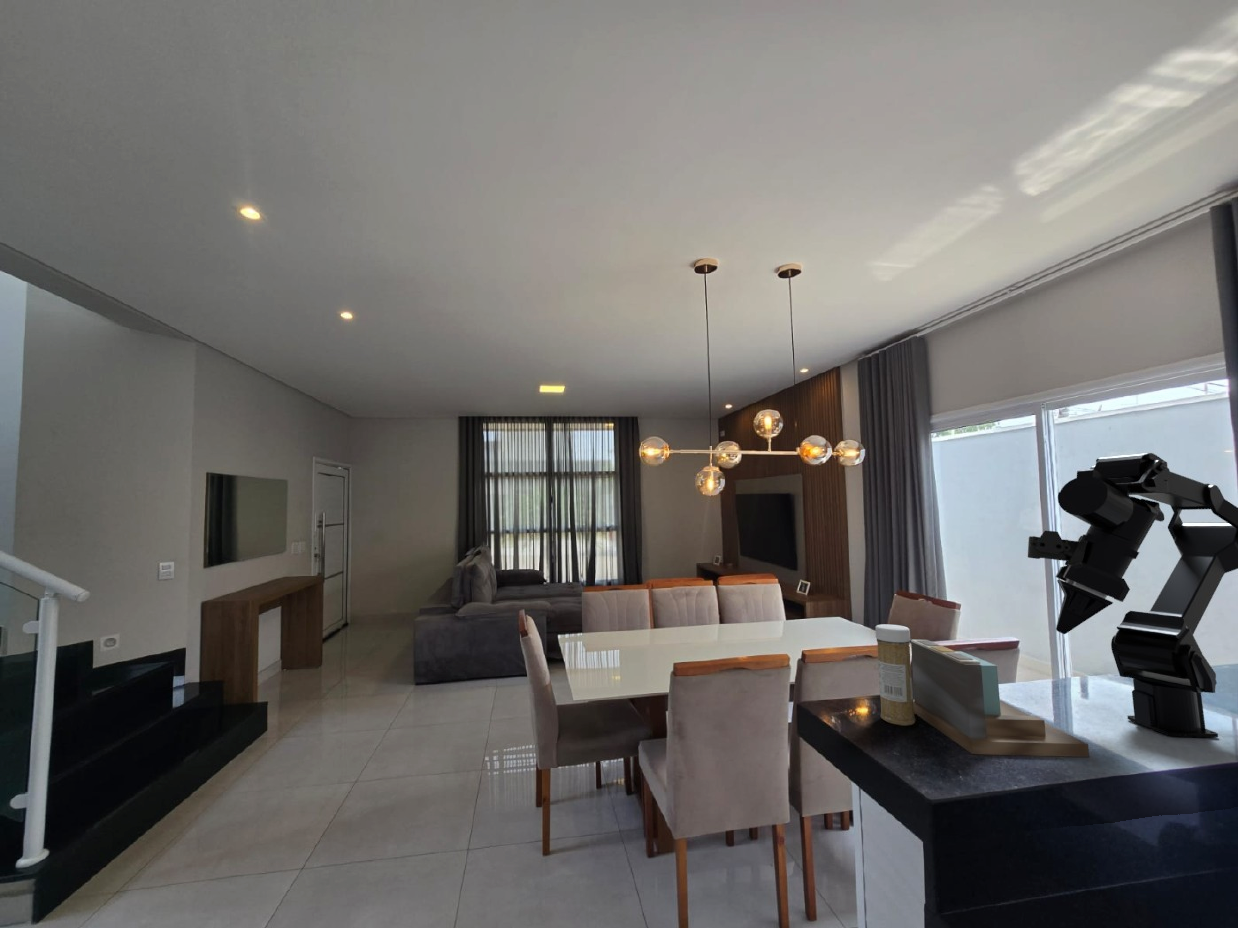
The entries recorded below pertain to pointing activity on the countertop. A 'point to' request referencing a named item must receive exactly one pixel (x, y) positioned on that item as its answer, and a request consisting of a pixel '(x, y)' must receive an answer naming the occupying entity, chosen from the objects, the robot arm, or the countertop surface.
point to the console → (978, 709)
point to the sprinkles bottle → (895, 674)
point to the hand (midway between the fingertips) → (1060, 632)
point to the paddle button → (989, 686)
